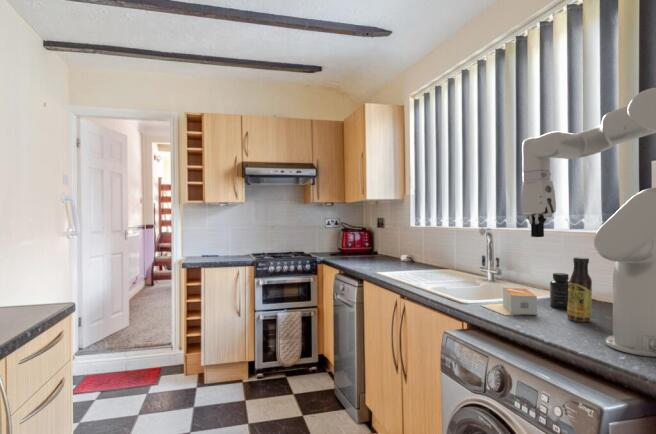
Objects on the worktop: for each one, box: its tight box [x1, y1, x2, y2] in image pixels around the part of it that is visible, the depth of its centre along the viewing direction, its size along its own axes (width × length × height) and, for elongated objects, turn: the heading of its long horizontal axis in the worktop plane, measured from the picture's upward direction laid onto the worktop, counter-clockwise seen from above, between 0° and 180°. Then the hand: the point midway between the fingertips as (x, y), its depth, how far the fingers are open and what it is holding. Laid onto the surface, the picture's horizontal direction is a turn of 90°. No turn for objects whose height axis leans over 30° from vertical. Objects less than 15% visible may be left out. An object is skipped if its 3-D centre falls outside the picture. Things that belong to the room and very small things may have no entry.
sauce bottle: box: [566, 256, 593, 323], centre depth 121 cm, size 7×6×20 cm
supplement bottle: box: [549, 272, 570, 310], centre depth 138 cm, size 7×7×12 cm
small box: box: [502, 287, 538, 316], centre depth 133 cm, size 8×6×13 cm
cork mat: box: [479, 303, 526, 317], centre depth 135 cm, size 14×12×1 cm
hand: (537, 236), depth 119 cm, fingers closed
